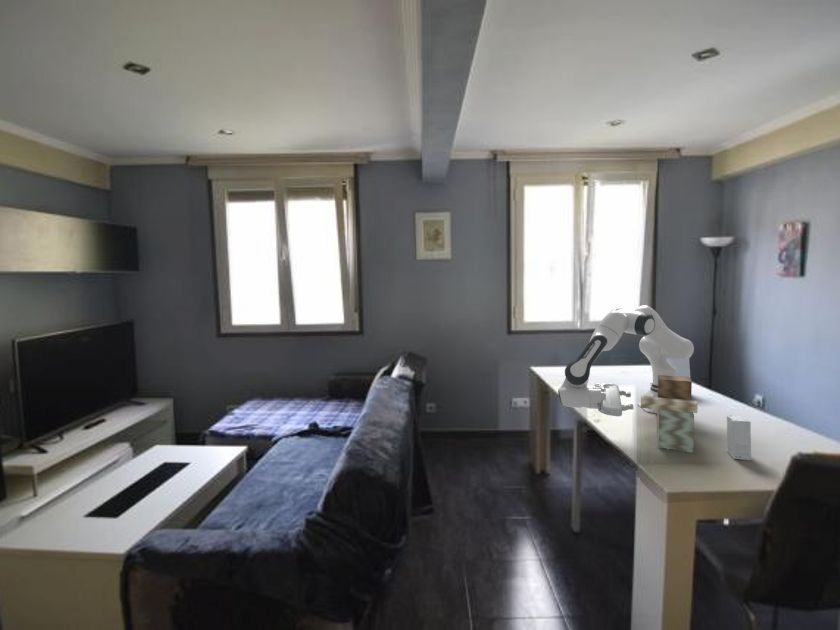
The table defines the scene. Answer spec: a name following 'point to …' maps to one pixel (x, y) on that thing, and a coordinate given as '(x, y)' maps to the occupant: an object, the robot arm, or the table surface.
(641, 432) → the table surface
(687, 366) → the pale grey tall block
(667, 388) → the stepped stand
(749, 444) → the skincare box
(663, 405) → the birch batten
